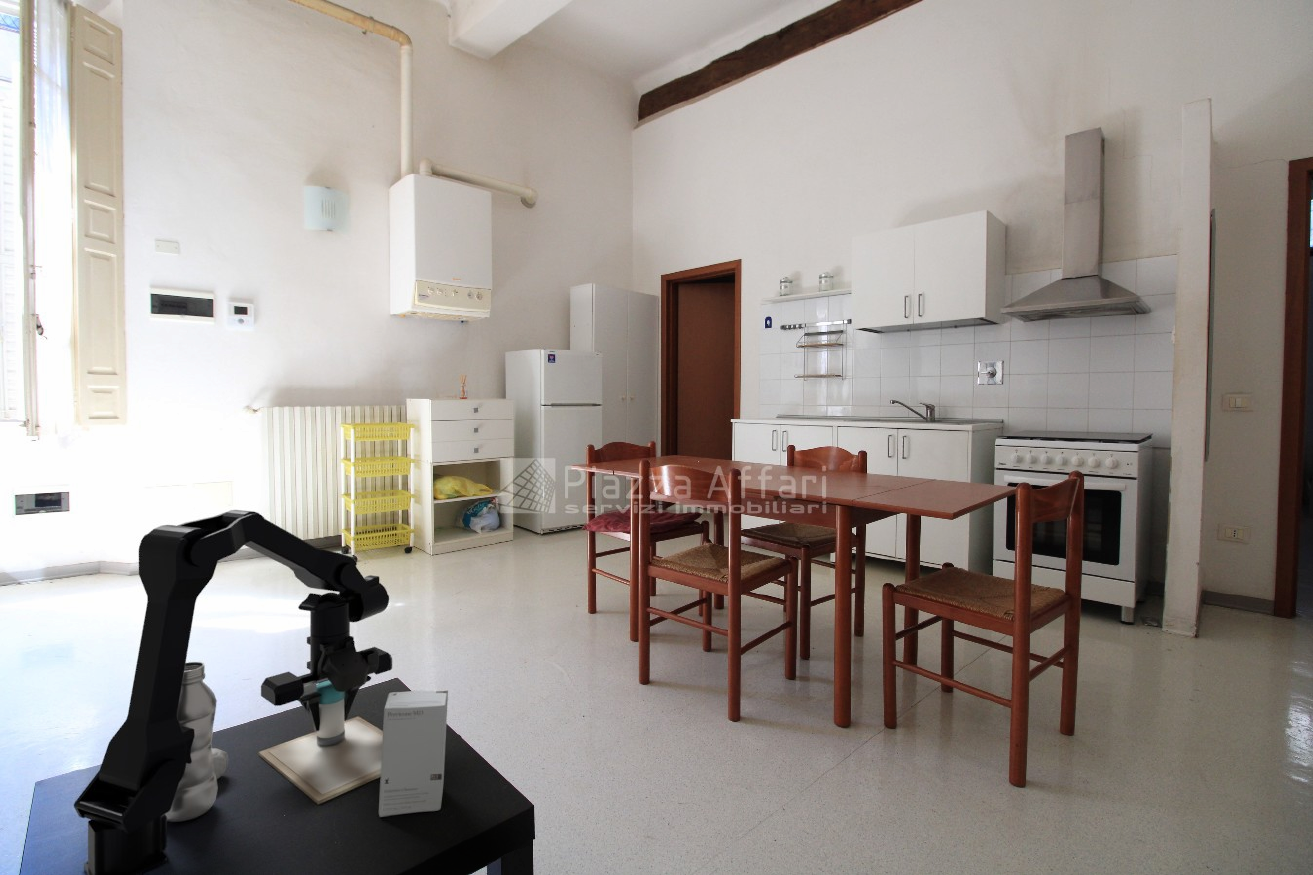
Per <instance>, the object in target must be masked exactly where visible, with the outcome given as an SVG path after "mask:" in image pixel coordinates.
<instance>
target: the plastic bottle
mask: <svg viewBox="0 0 1313 875" xmlns="http://www.w3.org/2000/svg"><path fill="white" fill-rule="evenodd" d="M205 666H206V665H205V663H204V662H202V661H188V662H187V661H186V663H185V669H184V675H183V682H182V688H181V694H180V700H179V706H178V712H177V717H178V720H179V723H180V725H181V726H184V727H188V728H192V729H194V733H195V737H194V740H193V743H192V747H191V760H192V762H191V764H188V763H186V769H185V772H184V775H183V777H182V779H181V781H180V782H179V784H178V787H177V791H176V794H175V797H174V800H173V803H172V806H171V809H170V811H169V812H167V813H165V815H166V816H167V822H172V823H177V822H178V823H179V822H185V821H190V820H193V819H197V818H199V816H200V817H201V816H202V815H204V814H205V813H207V812H208V811H209V810H210V809H211V807H212V806H214V803H215V802H216V800H217V795H218V789H219V786H218V779H217V780H216V776H215V772H214V766H213V757H212V748H213V741H212V740H213V732H214V731H213V730H214V723H215V716H216V711H217V702H218V700H217V698H216V695H215V692H214V691H213V690H212V689H211V688H210V687H209V686H208V685H207V684H206V683H205V682H204V681H203V680H205V679H206V673H205V669H206V668H205Z"/></svg>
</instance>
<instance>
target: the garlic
mask: <svg viewBox="0 0 1313 875" xmlns="http://www.w3.org/2000/svg"><path fill="white" fill-rule="evenodd" d="M228 755H229V754H228V753H227V752H226V751H224V750H222V749H220V748H216V747H215V748H213V747H212V757H213V766H214V772H215V776H216V780H217V781H218V779H219V778H220V777H221V776H223V775H224V773H225V771H226V769H227V767H228V765H229V756H228Z"/></svg>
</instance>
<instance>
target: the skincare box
mask: <svg viewBox="0 0 1313 875" xmlns="http://www.w3.org/2000/svg"><path fill="white" fill-rule="evenodd" d="M448 698H449V690H447V689H442V690H441V689H439V690H438V689H437V690H423V689H421V690H418V689H417V690H411V691H409V690H408V691H396V692H395V691H394V692H389V693H388V695H387V699H386V703H385V705H384V710H383V723H382V724H383V725H382V726H383V727H382V731H383V740H382V761H381V777H380V781H379V782H380V783H379V796H378V797H379V798H378V799H379V801H378V802H379V803H378V815H379V818H384V817H391V816H398V815H405V814H413V813H423V812H436V811H440V810H441V808H442V800H443V799H442V798H443V792H444V790H443V789H444V779H445V777H444V776H445V760H446V759H445V758H446V739H447V738H446V737H447V720H448V718H447V717H448V700H449V699H448Z"/></svg>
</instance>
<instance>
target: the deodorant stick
mask: <svg viewBox="0 0 1313 875" xmlns="http://www.w3.org/2000/svg"><path fill="white" fill-rule="evenodd" d="M316 691H317V692H319V693H320V694H322V696H321V698H320V700H319V714H320V728H319V731H317V744H318V745H321V746H329V745H334V744H337V743H339V742H341V741H343V740H344V739H345V724H344V698H345V691H344V692H338V691H336V690H335V689H334V686H333V685H332V684H331V682H330V681H329V680H328V681H325V682H321V683H318V684H316Z"/></svg>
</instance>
